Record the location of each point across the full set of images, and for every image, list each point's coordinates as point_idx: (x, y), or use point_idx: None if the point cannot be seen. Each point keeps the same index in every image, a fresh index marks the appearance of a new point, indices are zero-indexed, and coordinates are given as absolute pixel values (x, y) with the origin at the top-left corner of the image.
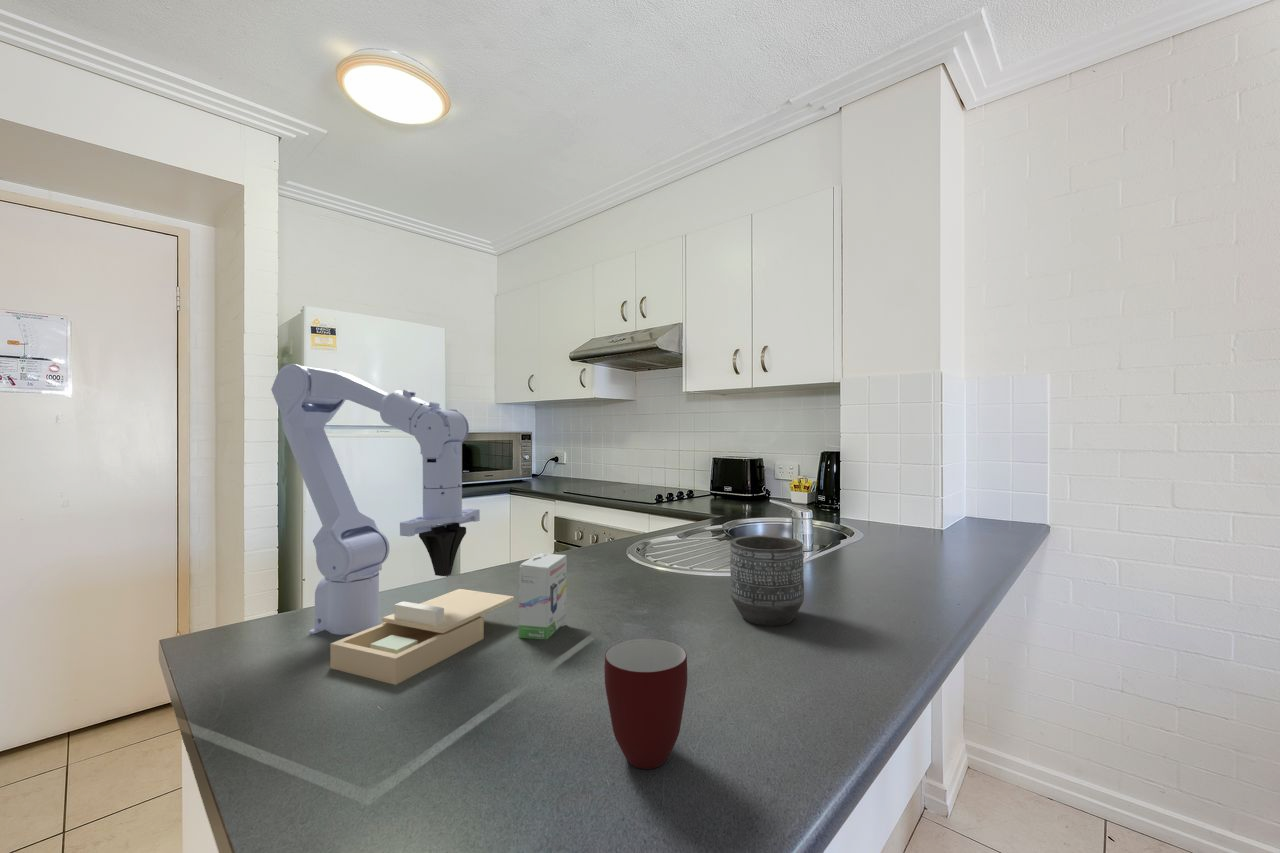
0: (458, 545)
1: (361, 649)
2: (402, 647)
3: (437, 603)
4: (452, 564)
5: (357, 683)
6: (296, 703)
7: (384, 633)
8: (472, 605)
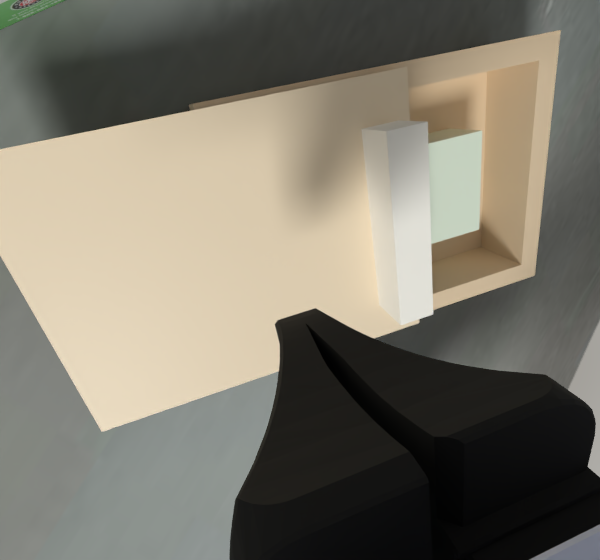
0: (286, 409)
1: (540, 179)
2: (466, 133)
3: (256, 329)
4: (289, 337)
5: None
6: (575, 175)
7: None
8: (182, 210)
